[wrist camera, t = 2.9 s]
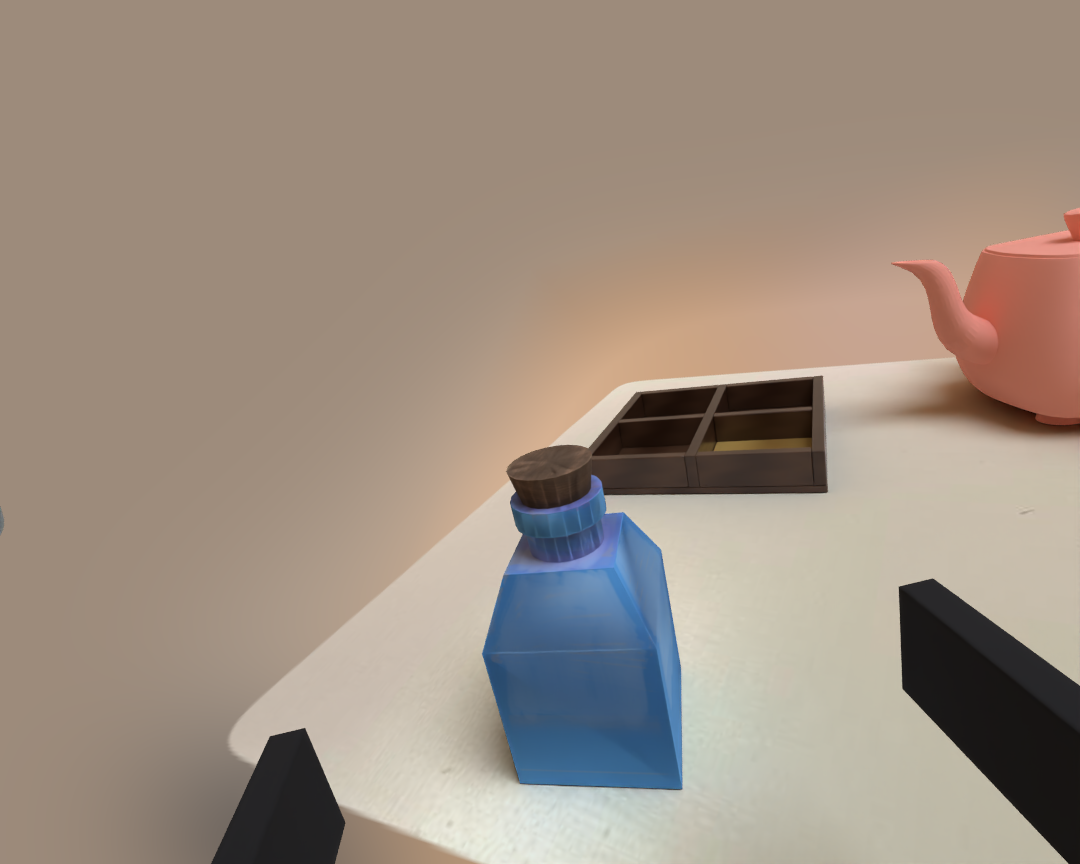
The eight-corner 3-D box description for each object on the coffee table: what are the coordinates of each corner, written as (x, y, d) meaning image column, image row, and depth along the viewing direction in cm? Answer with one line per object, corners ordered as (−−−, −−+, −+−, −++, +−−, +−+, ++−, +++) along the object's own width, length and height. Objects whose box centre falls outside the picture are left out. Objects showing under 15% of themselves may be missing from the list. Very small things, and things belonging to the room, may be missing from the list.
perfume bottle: (682, 789, 21) (627, 490, 18) (520, 783, 23) (440, 509, 19) (680, 667, 27) (639, 422, 23) (551, 669, 28) (493, 441, 25)
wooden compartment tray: (584, 494, 47) (577, 460, 46) (640, 419, 61) (635, 392, 60) (827, 492, 39) (824, 451, 38) (824, 406, 54) (822, 375, 53)
